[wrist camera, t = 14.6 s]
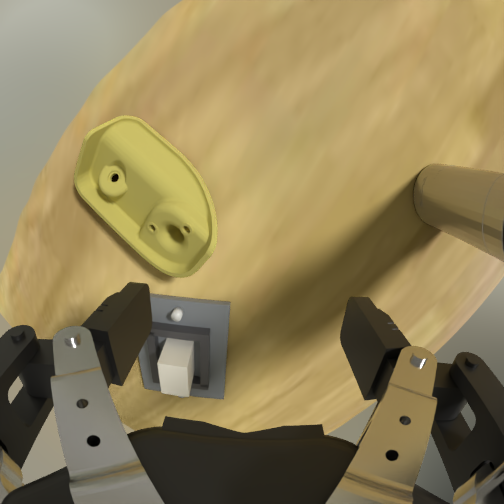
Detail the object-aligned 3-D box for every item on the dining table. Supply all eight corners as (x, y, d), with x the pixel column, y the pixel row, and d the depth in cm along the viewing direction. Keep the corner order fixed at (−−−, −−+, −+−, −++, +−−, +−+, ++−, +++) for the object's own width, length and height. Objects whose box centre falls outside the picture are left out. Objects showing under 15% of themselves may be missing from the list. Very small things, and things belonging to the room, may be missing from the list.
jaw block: (194, 340, 39) (187, 367, 33) (194, 370, 41) (189, 397, 35) (167, 337, 39) (157, 363, 33) (169, 366, 40) (161, 393, 35)
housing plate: (230, 301, 38) (229, 312, 35) (224, 395, 44) (223, 406, 41) (133, 291, 37) (126, 300, 34) (146, 384, 43) (142, 395, 40)
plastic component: (71, 186, 30) (88, 124, 24) (108, 165, 36) (131, 110, 30) (178, 289, 33) (221, 246, 27) (205, 255, 39) (247, 212, 33)
